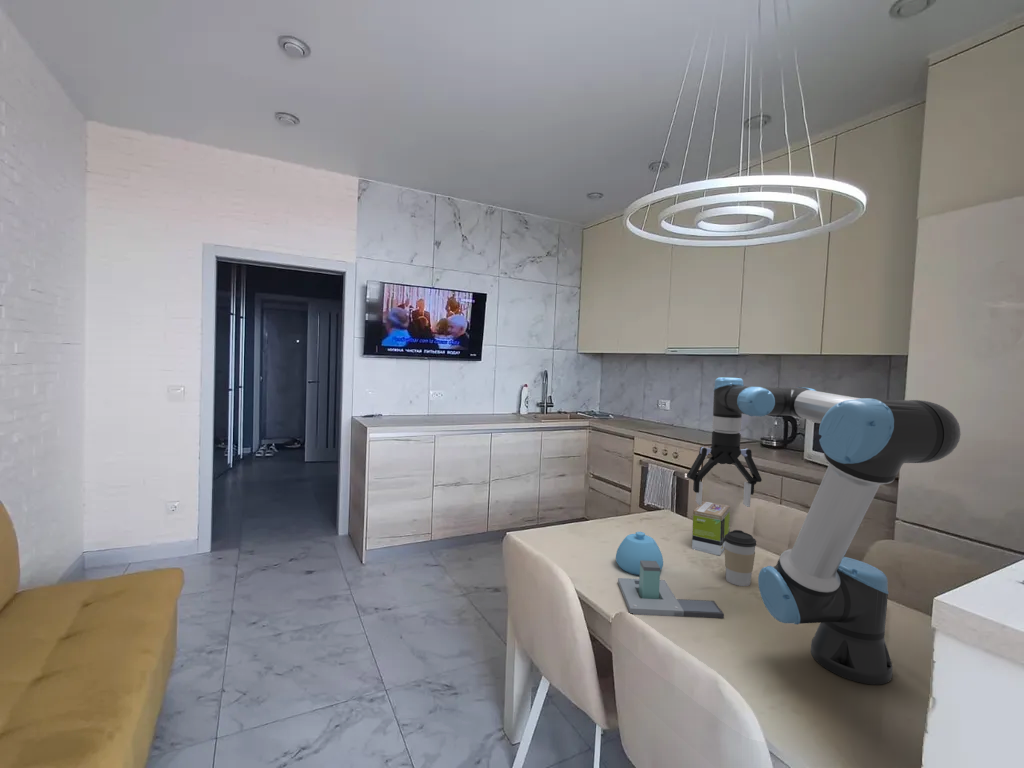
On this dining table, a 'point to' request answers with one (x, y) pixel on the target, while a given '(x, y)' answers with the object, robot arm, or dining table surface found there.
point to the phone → (700, 608)
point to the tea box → (710, 527)
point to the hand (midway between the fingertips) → (722, 504)
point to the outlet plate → (649, 606)
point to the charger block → (649, 580)
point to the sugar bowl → (637, 552)
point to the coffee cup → (739, 557)
